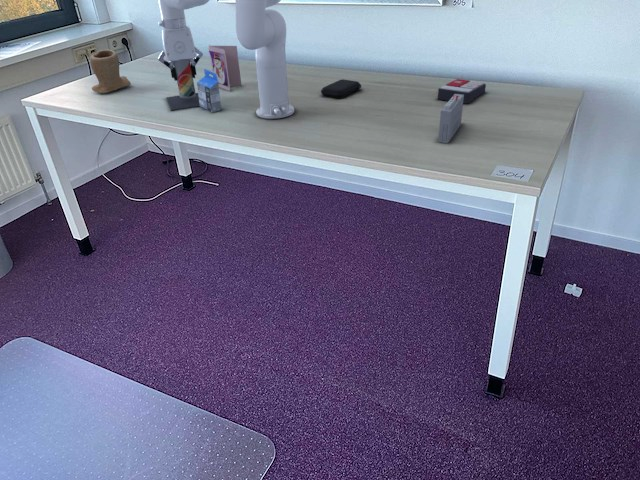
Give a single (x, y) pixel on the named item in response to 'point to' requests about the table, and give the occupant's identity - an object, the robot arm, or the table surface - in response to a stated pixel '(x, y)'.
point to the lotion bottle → (184, 78)
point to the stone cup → (107, 71)
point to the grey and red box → (462, 90)
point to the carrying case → (341, 88)
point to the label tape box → (209, 92)
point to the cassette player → (450, 118)
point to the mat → (183, 102)
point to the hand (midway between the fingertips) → (184, 78)
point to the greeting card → (225, 65)
